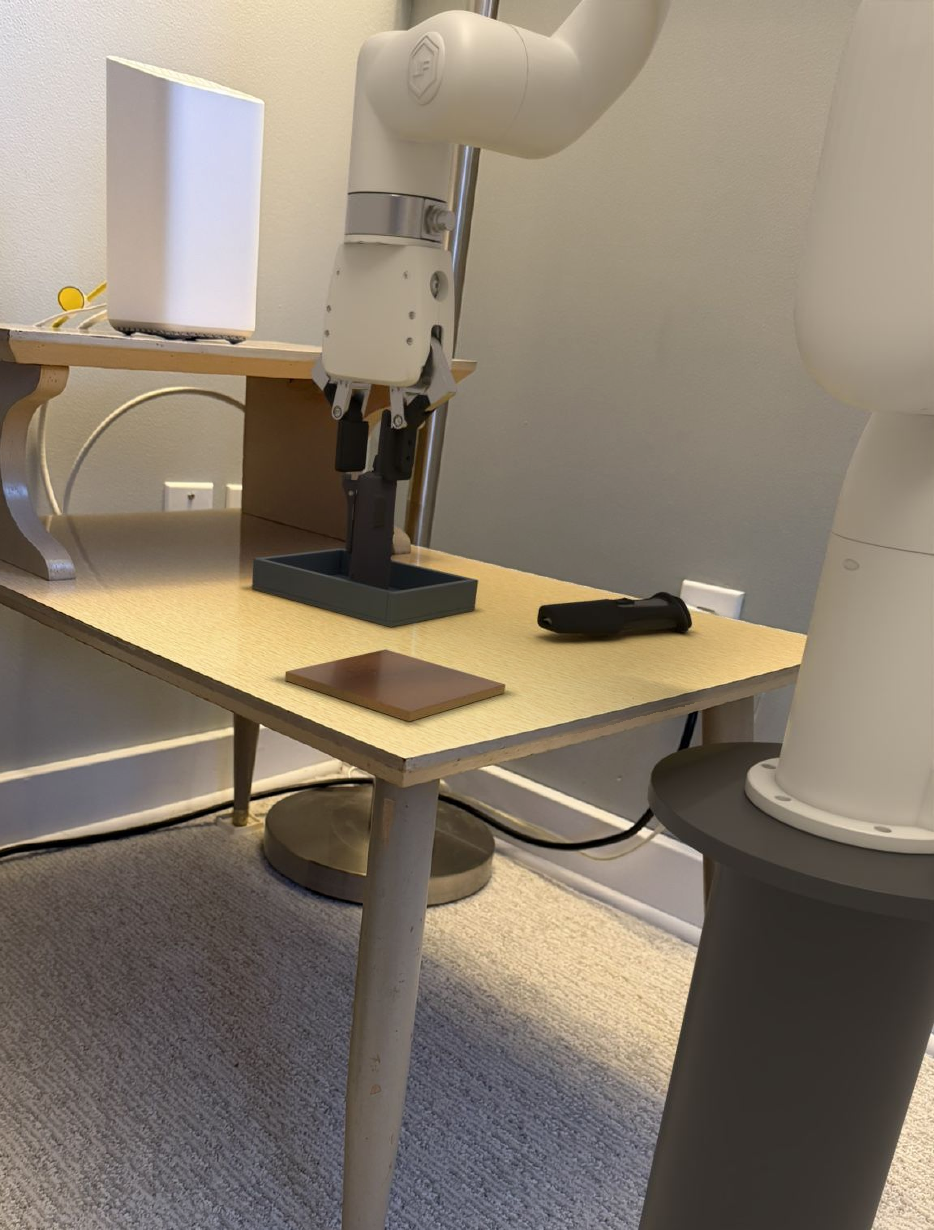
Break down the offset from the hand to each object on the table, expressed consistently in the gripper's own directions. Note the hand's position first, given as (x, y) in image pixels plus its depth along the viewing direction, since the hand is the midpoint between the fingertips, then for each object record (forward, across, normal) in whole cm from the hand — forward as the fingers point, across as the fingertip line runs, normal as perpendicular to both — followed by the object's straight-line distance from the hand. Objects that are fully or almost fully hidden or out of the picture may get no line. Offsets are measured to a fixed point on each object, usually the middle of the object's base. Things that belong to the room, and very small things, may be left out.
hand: (372, 473), depth 94 cm
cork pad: (+10, -18, +18) cm, 28 cm away
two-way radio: (+10, 0, 0) cm, 10 cm away
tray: (+10, 0, 0) cm, 10 cm away
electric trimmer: (+11, -19, -9) cm, 24 cm away
